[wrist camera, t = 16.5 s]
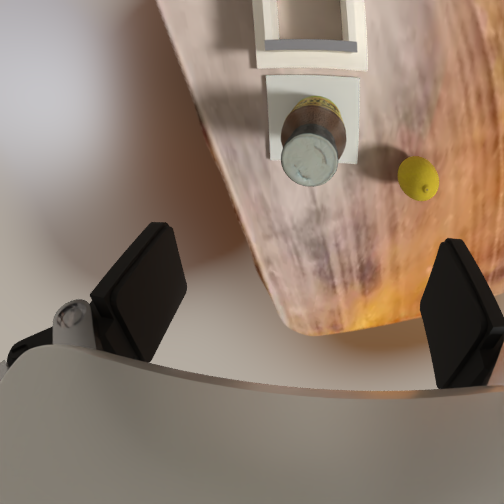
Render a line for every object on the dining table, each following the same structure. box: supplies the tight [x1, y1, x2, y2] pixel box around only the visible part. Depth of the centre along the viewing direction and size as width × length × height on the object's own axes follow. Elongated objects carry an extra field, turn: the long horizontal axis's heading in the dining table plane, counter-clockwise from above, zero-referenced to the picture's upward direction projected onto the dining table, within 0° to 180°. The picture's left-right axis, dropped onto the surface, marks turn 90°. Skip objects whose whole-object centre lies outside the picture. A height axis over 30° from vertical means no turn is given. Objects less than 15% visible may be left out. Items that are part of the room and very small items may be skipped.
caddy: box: [252, 0, 368, 72], centre depth 25 cm, size 14×14×8 cm
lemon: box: [398, 156, 439, 201], centre depth 33 cm, size 6×6×8 cm
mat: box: [266, 75, 360, 164], centre depth 36 cm, size 12×12×1 cm
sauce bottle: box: [281, 96, 346, 187], centre depth 27 cm, size 6×6×20 cm
